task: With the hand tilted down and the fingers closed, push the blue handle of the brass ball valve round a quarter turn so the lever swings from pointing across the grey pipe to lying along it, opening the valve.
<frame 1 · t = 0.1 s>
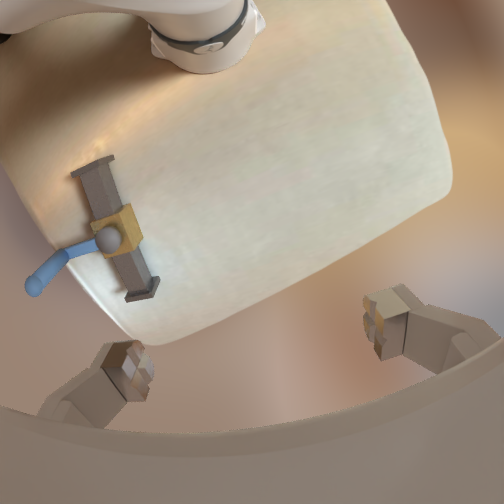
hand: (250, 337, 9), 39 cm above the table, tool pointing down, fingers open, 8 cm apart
french press: (9, 24, 23), on the table
lever: (70, 263, 37), point 12 cm above the table, hinge at 0.0°
valve pipe: (122, 225, 47), on the table
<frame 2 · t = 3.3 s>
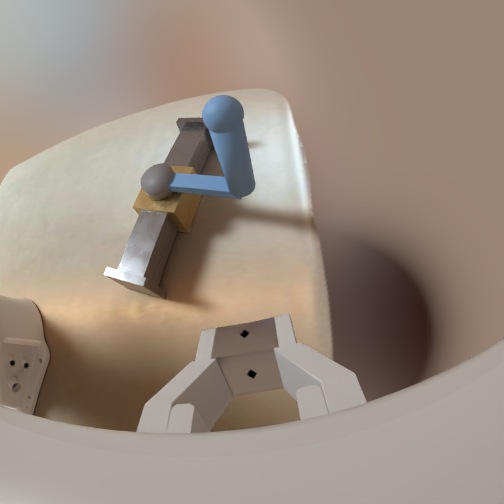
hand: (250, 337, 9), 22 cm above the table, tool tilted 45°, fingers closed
lever: (180, 151, 26), point 12 cm above the table, hinge at 0.0°
valve pipe: (176, 208, 39), on the table
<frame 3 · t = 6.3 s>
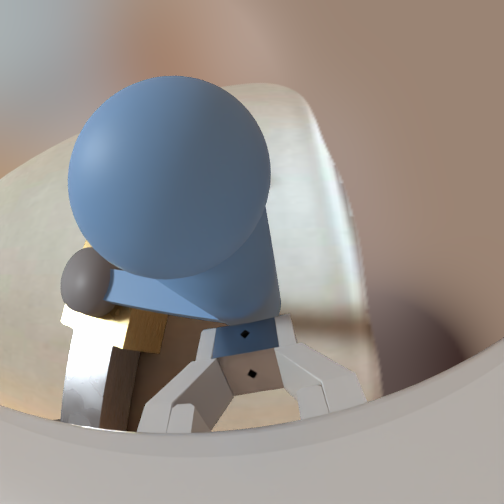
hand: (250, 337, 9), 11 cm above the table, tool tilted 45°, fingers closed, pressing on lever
lever: (94, 257, 10), point 12 cm above the table, hinge at 4.0°, touching gripper
valve pipe: (137, 304, 22), on the table
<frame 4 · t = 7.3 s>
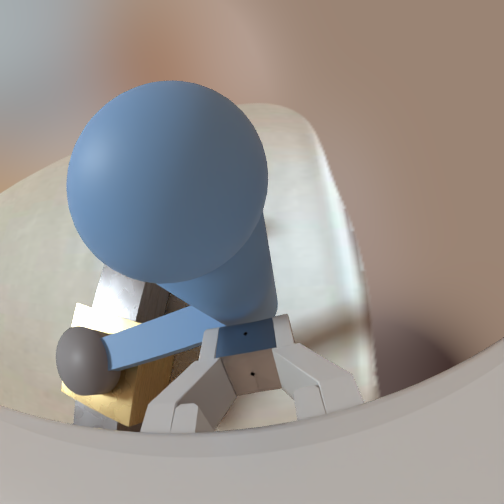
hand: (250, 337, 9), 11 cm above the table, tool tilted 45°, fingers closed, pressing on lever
lever: (88, 325, 9), point 13 cm above the table, hinge at 31.1°, touching gripper
valve pipe: (137, 364, 20), on the table
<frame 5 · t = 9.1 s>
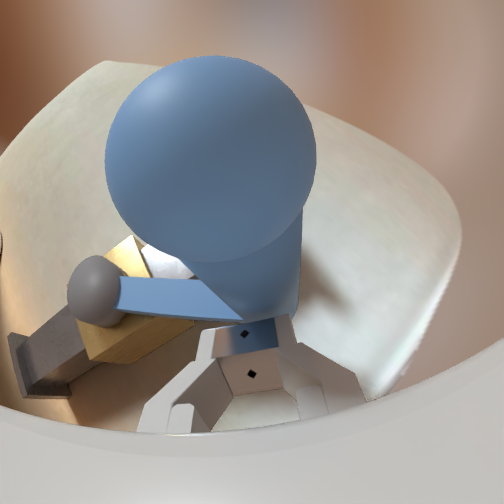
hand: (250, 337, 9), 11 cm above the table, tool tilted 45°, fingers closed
lever: (107, 261, 10), point 12 cm above the table, hinge at 53.7°, touching gripper
valve pipe: (145, 313, 22), on the table
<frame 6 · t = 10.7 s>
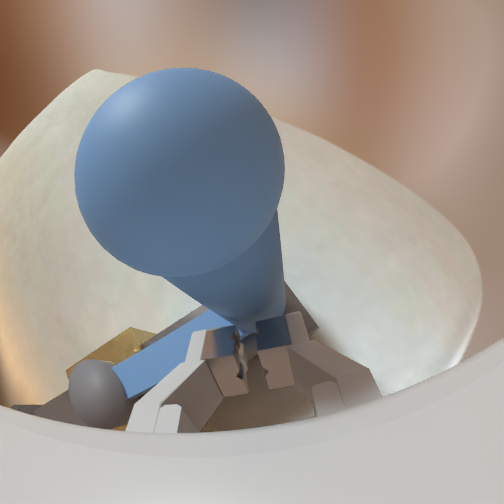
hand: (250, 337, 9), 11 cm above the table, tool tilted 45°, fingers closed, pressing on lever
lever: (101, 353, 8), point 12 cm above the table, hinge at 88.7°, touching gripper
valve pipe: (151, 389, 19), on the table
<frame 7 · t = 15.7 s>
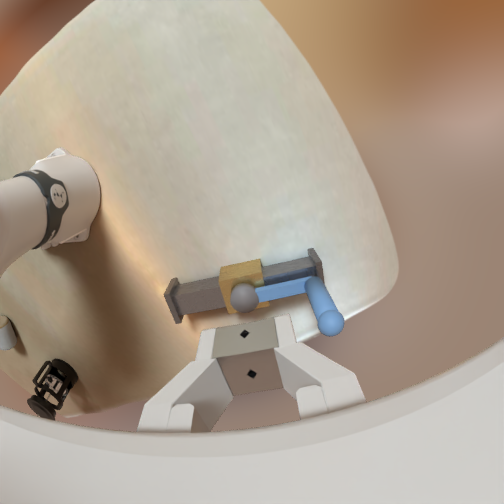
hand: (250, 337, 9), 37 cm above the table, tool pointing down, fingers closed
french press: (63, 368, 60), on the table
lever: (281, 311, 38), point 12 cm above the table, hinge at 89.7°
ceramic mug: (7, 325, 55), on the table
valve pipe: (244, 278, 50), on the table
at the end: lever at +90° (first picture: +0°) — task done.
